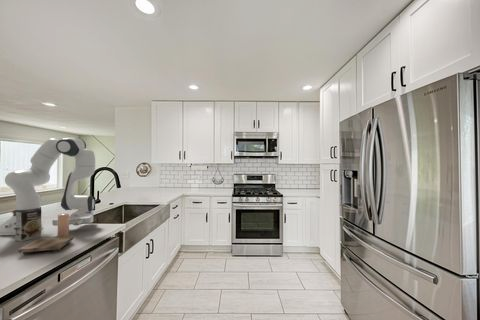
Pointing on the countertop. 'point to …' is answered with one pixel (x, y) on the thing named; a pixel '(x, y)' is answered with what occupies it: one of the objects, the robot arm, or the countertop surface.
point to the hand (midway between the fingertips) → (67, 223)
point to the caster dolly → (45, 245)
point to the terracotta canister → (63, 225)
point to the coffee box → (28, 224)
